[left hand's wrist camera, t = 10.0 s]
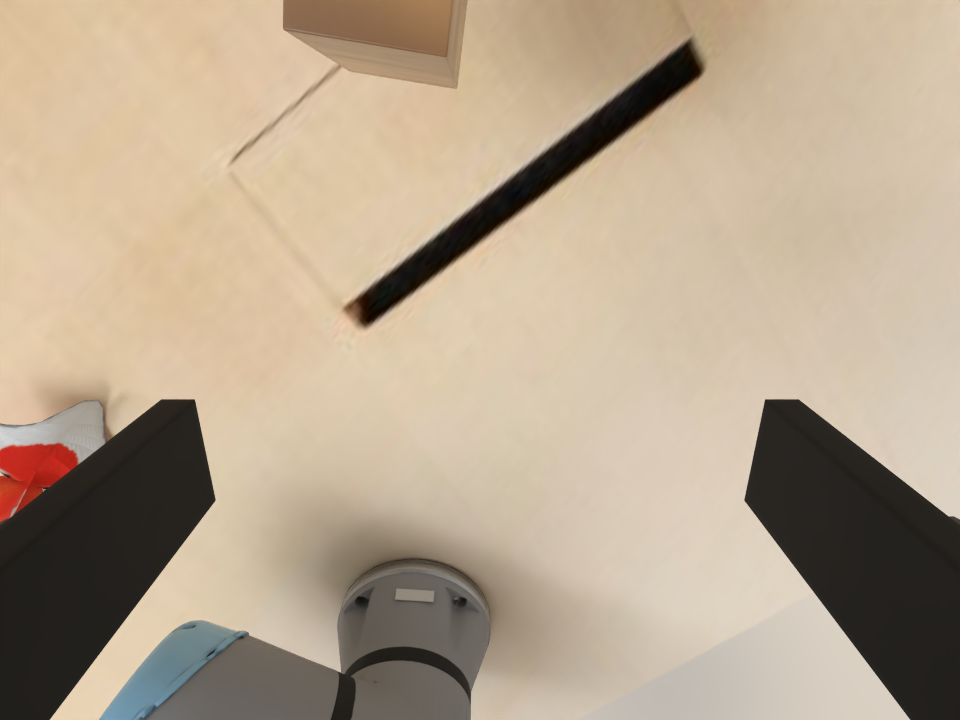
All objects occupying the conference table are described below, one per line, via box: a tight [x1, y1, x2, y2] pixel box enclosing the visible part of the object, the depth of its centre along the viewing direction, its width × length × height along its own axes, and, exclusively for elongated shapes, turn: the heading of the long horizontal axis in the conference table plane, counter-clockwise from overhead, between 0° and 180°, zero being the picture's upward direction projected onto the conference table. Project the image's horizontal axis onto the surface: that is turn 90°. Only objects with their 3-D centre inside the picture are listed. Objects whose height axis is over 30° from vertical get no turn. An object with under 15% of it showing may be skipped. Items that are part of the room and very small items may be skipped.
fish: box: [0, 400, 107, 522], centre depth 45 cm, size 11×16×10 cm
